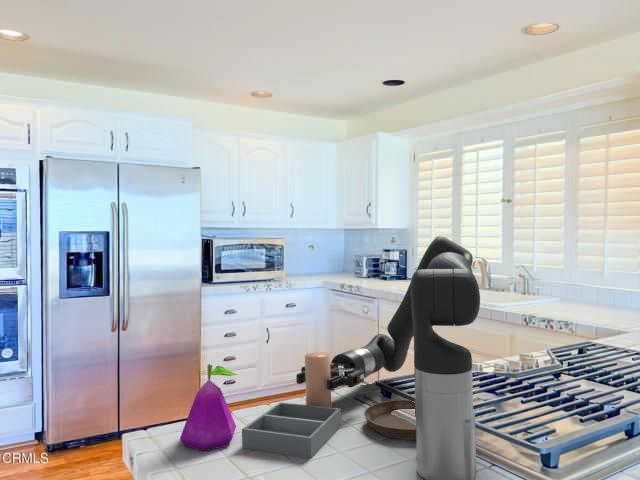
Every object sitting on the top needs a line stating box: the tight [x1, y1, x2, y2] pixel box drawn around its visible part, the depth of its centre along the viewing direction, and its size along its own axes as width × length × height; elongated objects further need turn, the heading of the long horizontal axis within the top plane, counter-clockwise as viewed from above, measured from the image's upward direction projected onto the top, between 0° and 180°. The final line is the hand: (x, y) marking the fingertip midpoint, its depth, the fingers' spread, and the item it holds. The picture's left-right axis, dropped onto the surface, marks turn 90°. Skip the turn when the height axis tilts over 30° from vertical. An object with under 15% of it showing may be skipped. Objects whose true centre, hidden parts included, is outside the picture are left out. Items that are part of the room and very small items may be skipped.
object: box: [363, 399, 416, 441], centre depth 103 cm, size 18×18×3 cm
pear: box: [179, 363, 238, 452], centre depth 98 cm, size 11×11×15 cm
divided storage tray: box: [241, 401, 342, 459], centre depth 99 cm, size 14×16×4 cm
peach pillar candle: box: [304, 351, 332, 408], centre depth 111 cm, size 6×6×13 cm
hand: (312, 382), depth 110 cm, fingers open, 8 cm apart
